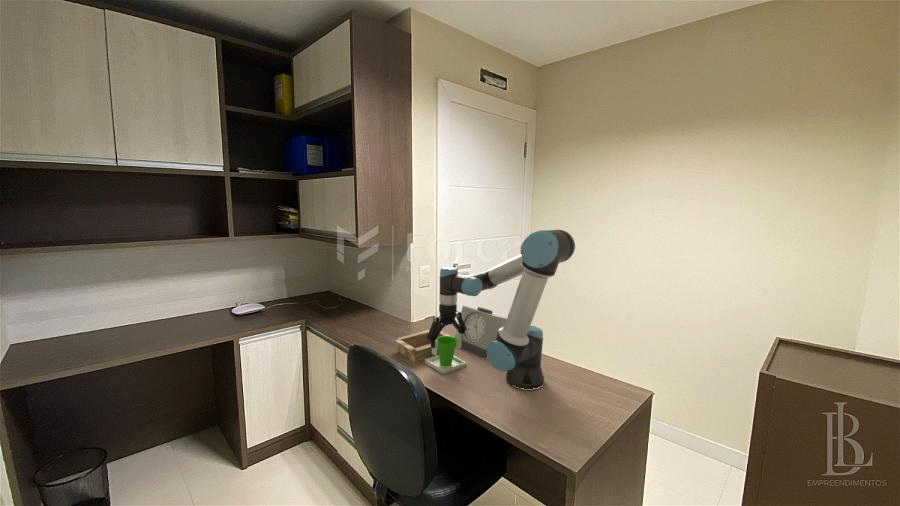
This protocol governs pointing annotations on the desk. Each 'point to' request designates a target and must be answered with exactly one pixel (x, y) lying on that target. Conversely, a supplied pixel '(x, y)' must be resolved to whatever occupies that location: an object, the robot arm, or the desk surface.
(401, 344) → the wooden box
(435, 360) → the tray
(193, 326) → the desk surface
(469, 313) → the alarm clock
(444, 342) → the cup
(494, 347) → the robot arm
